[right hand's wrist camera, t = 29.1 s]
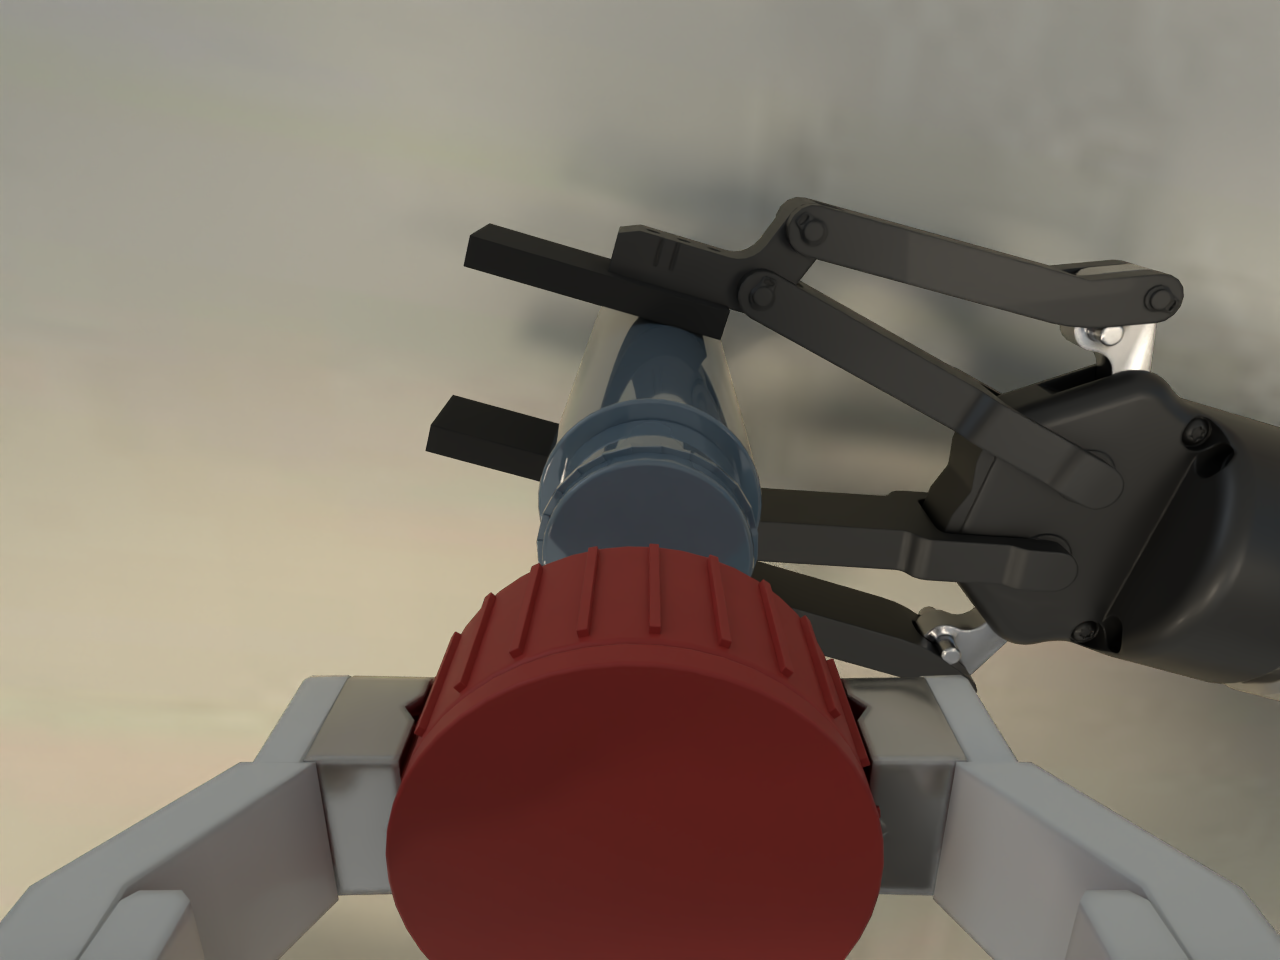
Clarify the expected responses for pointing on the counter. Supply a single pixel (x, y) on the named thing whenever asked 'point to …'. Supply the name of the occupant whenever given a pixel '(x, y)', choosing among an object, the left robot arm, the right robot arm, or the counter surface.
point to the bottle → (651, 450)
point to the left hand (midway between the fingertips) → (459, 336)
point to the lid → (635, 775)
